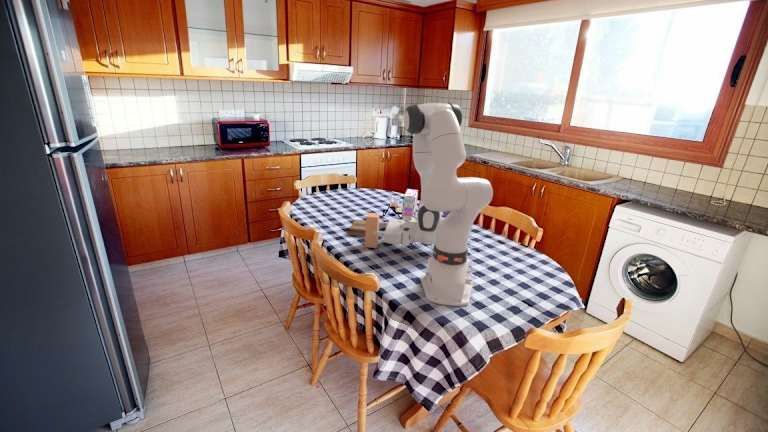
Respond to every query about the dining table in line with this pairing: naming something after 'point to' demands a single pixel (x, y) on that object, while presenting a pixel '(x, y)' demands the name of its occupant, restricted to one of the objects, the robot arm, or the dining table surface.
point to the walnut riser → (358, 228)
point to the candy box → (409, 204)
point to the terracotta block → (371, 230)
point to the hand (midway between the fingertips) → (375, 228)
